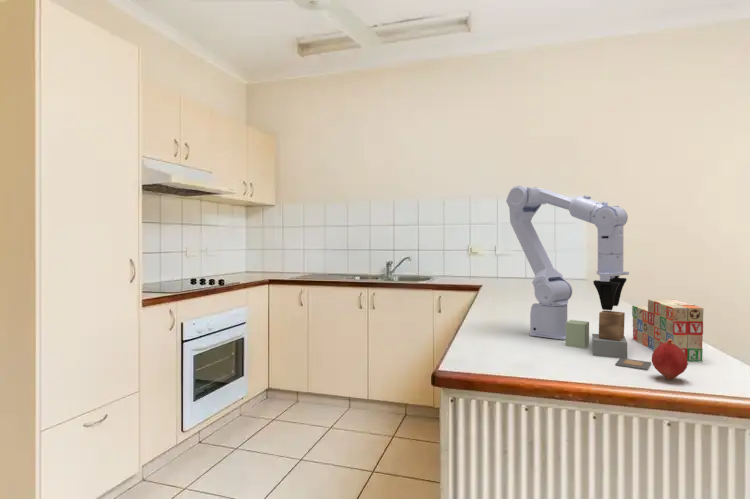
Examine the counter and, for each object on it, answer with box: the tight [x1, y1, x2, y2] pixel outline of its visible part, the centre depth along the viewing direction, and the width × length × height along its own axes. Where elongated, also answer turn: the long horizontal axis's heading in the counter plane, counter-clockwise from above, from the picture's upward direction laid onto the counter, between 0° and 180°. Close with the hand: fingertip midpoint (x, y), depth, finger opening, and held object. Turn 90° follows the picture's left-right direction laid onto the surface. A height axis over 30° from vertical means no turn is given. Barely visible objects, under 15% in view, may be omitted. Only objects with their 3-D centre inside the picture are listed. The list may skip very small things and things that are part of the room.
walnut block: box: [598, 310, 626, 341], centre depth 104 cm, size 4×4×6 cm
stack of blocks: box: [631, 298, 704, 362], centre depth 107 cm, size 21×6×12 cm, turn 171°
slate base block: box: [591, 333, 628, 359], centre depth 104 cm, size 7×7×4 cm
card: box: [614, 358, 652, 371], centre depth 95 cm, size 6×6×1 cm
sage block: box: [565, 319, 590, 349], centre depth 112 cm, size 4×4×6 cm
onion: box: [651, 339, 689, 380], centre depth 85 cm, size 6×6×8 cm
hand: (610, 307), depth 110 cm, fingers open, 7 cm apart
